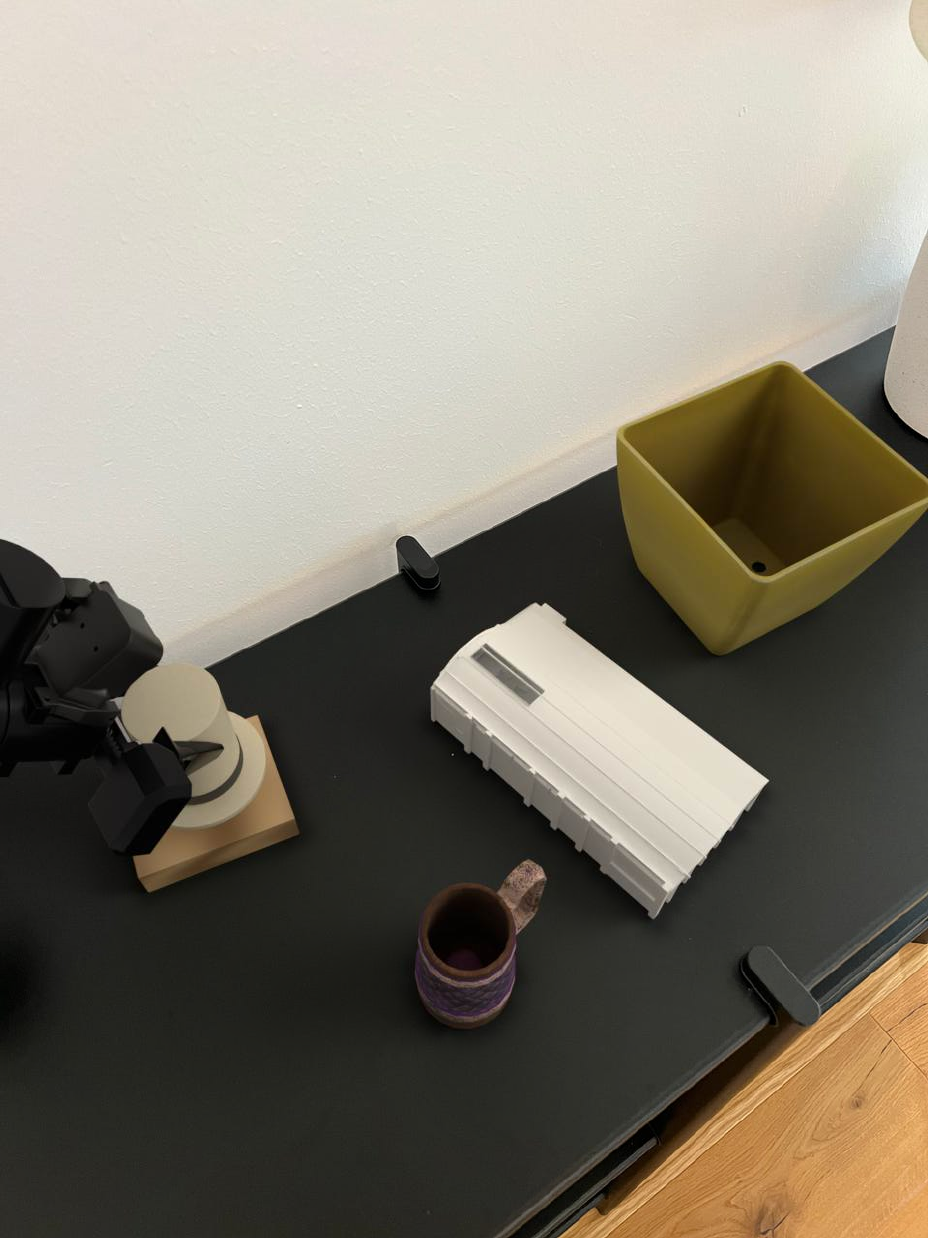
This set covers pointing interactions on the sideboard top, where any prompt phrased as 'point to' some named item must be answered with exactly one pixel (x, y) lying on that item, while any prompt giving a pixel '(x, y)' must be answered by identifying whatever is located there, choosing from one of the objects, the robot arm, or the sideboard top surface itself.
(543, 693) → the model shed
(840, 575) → the flower pot
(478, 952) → the mug
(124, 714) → the hat
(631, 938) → the sideboard top surface
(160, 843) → the wooden block
